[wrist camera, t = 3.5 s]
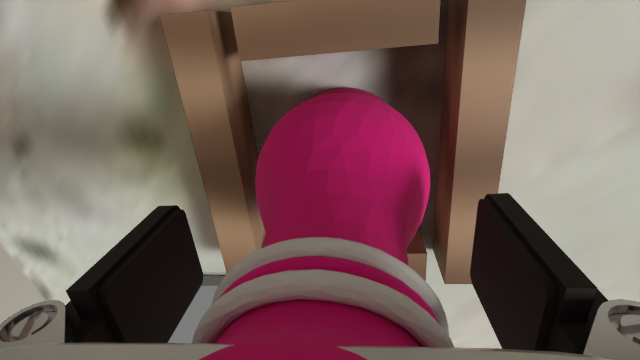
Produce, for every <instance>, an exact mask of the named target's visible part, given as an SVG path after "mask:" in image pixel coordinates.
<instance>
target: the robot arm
mask: <svg viewBox="0 0 640 360" xmlns="http://www.w3.org/2000/svg"><path fill="white" fill-rule="evenodd" d="M470 277H471V282H472V284H473V286H474V289H475V291H476V293H477V295H478V297H479V299H480V302H481V304H482V306H483V308H484V310H485V312H486V314H487V317H488V319H489V321H490V323H491V325H492V327H493V329H494V332H495V334H496V336H497V338H498V340H499V342H500V345H501V347H502V349H490V348H446V347H398V346H345V347H339V348H342V349H345V350H348V351H350V352H353V353H356V354H358V355H360V356H362V357H364V358H365V359H367V360H640V302H636V301H631V300H623V299H618V300H609V301H608V300H607V299H606V298H605V297H604V295H603V294H602V293H601V292H600V291H599V290H598V289H597V287H596V286H595V285H594V284H593V283H592V282H591V281H590V280H589V279H588V278H587V276H586V275H585V274H584V273H583V272H582V271H581V270H580V269H579V268H578V267H577V266H576V265H575V264H574V263H573V262H572V260H571V259H570V258H569V257H568V256H567V255H566V254H565V253H564V252H563V251H562V250H561V249H560V248H559V247H558V246H557V244H556V243H555V242H554V241H553V240H552V239H551V238H550V237H549V236H548V235H547V234H546V233H545V232H544V231H543V230H542V228H541V227H540V226H539V225H538V224H537V223H536V222H535V221H534V220H533V219H532V218H531V217H530V216H529V215H528V214H527V212H526V211H525V210H524V209H523V208H522V207H521V206H520V205H519V204H518V203H517V202H516V201H515V200H514V199H513V198H512V196H511V195H510V194H508V193H502V194H487V195H486V196H485V198H484V199H480V200H479V202H478V208H477V216H476V225H475V233H474V242H473V250H472V259H471V267H470ZM202 282H203V272H202V269H201V265H200V262H199V258H198V255H197V251H196V248H195V244H194V241H193V238H192V234H191V231H190V227H189V224H188V220H187V217H186V214H185V212H184V210H180V208H179V207H178V206H176V205H175V206H158V207H157V208H156V209H155V210H154V211H152V212H151V213H150V214H149V215H148V216H147V217H146V218H145V219H144V220H143V221H142V222H140V223H139V224H138V225H137V226H136V227H135V228H134V229H133V230H132V231H131V232H130V233H128V234H127V235H126V236H125V237H124V238H123V239H122V240H121V241H120V242H119V243H118V244H116V245H115V246H114V247H113V248H112V249H111V250H110V251H109V252H108V253H107V254H106V255H105V256H103V257H102V258H101V259H100V260H99V261H98V262H97V263H96V264H95V265H94V266H93V267H91V268H90V269H89V270H88V271H87V272H86V273H85V274H84V275H83V276H82V277H81V278H79V279H78V280H77V281H76V282H75V283H74V284H73V285H72V286H71V287H70V288H69V289H67V290H66V292H67V294H68V296H69V298H70V300H71V301H70V302H69V303H68V304H67V305H66V306H65V304H64V303H63V302H61V301H59V300H49V301H43V302H40V303H36V304H34V305H31V306H29V307H26V308H24V309H22V310H20V311H19V312H17V313H15V314H13V315H12V316H10V317H9V318H8V319H6V320H5V321H4V322H2V323H1V324H0V360H200V359H201V358H203V357H205V356H207V355H209V354H211V353H213V352H215V351H218V350H220V349H223V348H225V347H228V346H232V345H227V344H215V343H168V341H169V340H170V338H171V336H172V335H173V333H174V331H175V329H176V328H177V326H178V324H179V323H180V321H181V319H182V318H183V316H184V314H185V312H186V311H187V309H188V307H189V306H190V304H191V302H192V301H193V299H194V297H195V295H196V294H197V292H198V290H199V289H200V287H201V285H202Z"/></svg>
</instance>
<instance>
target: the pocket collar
mask: <svg viewBox="0 0 640 360" xmlns="http://www.w3.org/2000/svg"><path fill="white" fill-rule="evenodd" d="M525 5H526V0H449V4H448V20H447V36H446V52H445V68H444V84H443V100H442V116H441V132H440V148H439V164H438V180H437V196H436V212H435V228H434V244H433V251H434V254H435V257H436V260H437V263H438V266H439V269H440V272H441V275H442V277H443V280H444V283H445V284H472V282H471V277H470V267H471V259H472V250H473V242H474V233H475V225H476V216H477V208H478V202H479V200H480V199H484V198H485V196H486V195H487V194H498V187H499V181H500V174H501V167H502V160H503V154H504V147H505V140H506V133H507V127H508V120H509V113H510V106H511V99H512V93H513V86H514V79H515V72H516V66H517V59H518V52H519V45H520V39H521V32H522V25H523V18H524V12H525ZM439 18H440V0H294V1H285V2H276V3H267V4H258V5H249V6H240V7H231V12H222V11H210V10H203V11H194V12H185V13H176V14H167V15H160V19H161V22H162V26H163V30H164V34H165V38H166V42H167V45H168V49H169V53H170V57H171V61H172V65H173V69H174V72H175V76H176V80H177V84H178V88H179V92H180V95H181V99H182V103H183V107H184V111H185V115H186V119H187V122H188V126H189V130H190V134H191V138H192V142H193V145H194V149H195V153H196V157H197V161H198V165H199V169H200V172H201V176H202V180H203V184H204V188H205V192H206V195H207V199H208V203H209V207H210V211H211V215H212V219H213V222H214V226H215V230H216V234H217V238H218V242H219V245H220V249H221V253H222V257H223V261H224V265H225V269H226V272H227V273H228V272H229V270H230V269H231V268H233V267H234V266H235V265H236V264H237V263H238V262H239V261H241V260H242V259H244V258H245V257H247V256H248V255H250V254H252V253H253V252H255V251H257V250H260V249H261V248H262V245H263V242H264V239H265V235H266V232H265V229H264V226H263V223H262V219H261V216H260V213H259V209H258V205H257V201H256V183H255V178H256V168H257V162H258V156H257V150H256V144H255V139H254V133H253V128H252V122H251V116H250V111H249V105H248V100H247V94H246V88H245V83H244V77H243V72H242V66H241V61H246V60H257V59H269V58H280V57H291V56H303V55H314V54H325V53H337V52H348V51H359V50H371V49H382V48H393V47H405V46H416V45H427V44H438V37H439ZM407 256H408V264H409V267H410V268H411V269H413V270H414V271H416V272H417V273H418V274H419V275H420V276H421V277H422V278H423V279H424V280H426V261H427V252H426V249H425V246H424V242H423V239H422V236H421V232H420V229H419V228H418V229H417V231H416V233H415V235H414V237H413V238H412V240H411V242H410V244H409V245H408V247H407Z"/></svg>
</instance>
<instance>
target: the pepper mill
mask: <svg viewBox="0 0 640 360" xmlns="http://www.w3.org/2000/svg"><path fill="white" fill-rule="evenodd" d="M255 183H256V201H257V205H258V209H259V213H260V216H261V219H262V223H263V226H264V229H265V232H266V235H265V239H264V242H263V245H262V248H261V249H260V250H257V251H255V252H253V253H252V254H250V255H248V256H247V257H245V258H244V259H242V260H241V261H239V262H238V263H237V264H236V265H235V266H234V267H233V268H231V269H230V270H229V272H228V273H227V274H226V276H225V277H224V278H223V280H222V281H221V283H220V284H219V286H218V288H217V289H216V291H215V294H214V297H213V301H212V304H211V307H210V308H209V309H208V311H207V312H206V313H205V314H204V316H203V317H202V318H201V320H200V322H199V324H198V326H197V329H196V331H195V333H194V336H193V340H192V343H215V344H227V345H232V346H228V347H225V348H223V349H220V350H218V351H215V352H213V353H211V354H209V355H207V356H205V357H203V358H201V359H200V360H367V359H365V358H364V357H362V356H360V355H358V354H356V353H353V352H350V351H348V350H345V349H342V348H339V347H345V346H398V347H446V348H454V346H453V343H452V341H451V339H450V337H449V332H448V323H447V320H446V316H445V312H444V310H443V308H442V305H441V303H440V301H439V298H438V297H437V296H436V294H435V293H434V292H433V290H432V289H431V288H430V286H429V285H428V284H427V283H426V281H425V280H424V279H423V278H422V277H421V276H420V275H419V274H418V273H417V272H416V271H414V270H413V269H411V268H410V267H409V264H408V256H407V247H408V245H409V244H410V242H411V240H412V238H413V237H414V235H415V233H416V231H417V229H418V228H419V226H420V224H421V222H422V220H423V217H424V213H425V209H426V206H427V202H428V199H429V191H430V183H431V181H430V169H429V165H428V161H427V157H426V153H425V149H424V146H423V144H422V142H421V140H420V137H419V135H418V133H417V132H416V131H415V129H414V128H413V126H412V125H411V124H410V122H409V121H408V120H407V119H406V118H405V117H404V116H403V115H402V114H401V113H399V112H398V111H396V110H395V109H394V108H392V107H391V106H389V105H388V104H386V103H385V102H384V101H383V100H382V99H380V98H379V97H377V96H375V95H374V94H372V93H369V92H367V91H364V90H359V89H354V88H337V89H332V90H328V91H325V92H323V93H320V94H318V95H316V96H315V97H313V98H311V99H308V100H306V101H304V102H302V103H300V104H298V105H297V106H295V107H293V108H292V109H291V110H289V111H288V112H287V113H286V114H285V115H283V116H282V117H281V118H280V120H279V121H278V122H277V123H276V124H275V126H274V127H273V128H272V130H271V132H270V133H269V135H268V137H267V139H266V141H265V143H264V145H263V147H262V149H261V151H260V155H259V158H258V162H257V168H256V178H255Z"/></svg>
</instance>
